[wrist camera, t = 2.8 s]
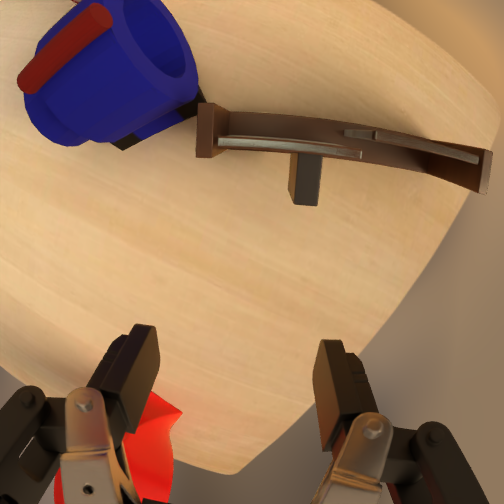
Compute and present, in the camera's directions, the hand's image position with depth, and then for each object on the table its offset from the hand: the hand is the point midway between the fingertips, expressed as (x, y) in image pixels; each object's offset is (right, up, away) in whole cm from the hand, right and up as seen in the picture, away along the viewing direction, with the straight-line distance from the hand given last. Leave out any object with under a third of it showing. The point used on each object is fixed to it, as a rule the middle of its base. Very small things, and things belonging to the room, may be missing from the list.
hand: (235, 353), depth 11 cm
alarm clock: (-10, +20, +13) cm, 27 cm away
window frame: (+8, +13, +15) cm, 22 cm away
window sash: (+3, +12, +14) cm, 19 cm away
